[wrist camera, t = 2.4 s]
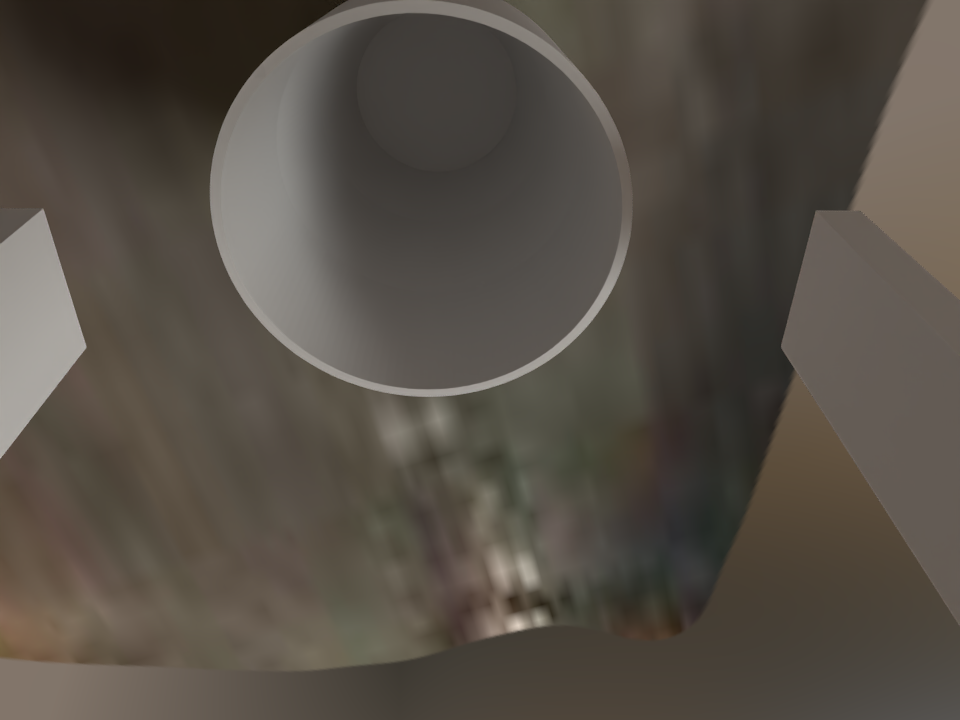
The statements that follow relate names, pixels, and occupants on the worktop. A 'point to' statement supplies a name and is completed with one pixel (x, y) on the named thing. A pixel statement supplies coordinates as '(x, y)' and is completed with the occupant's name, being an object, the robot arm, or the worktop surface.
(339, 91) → the cup
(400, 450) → the worktop surface
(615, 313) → the worktop surface
